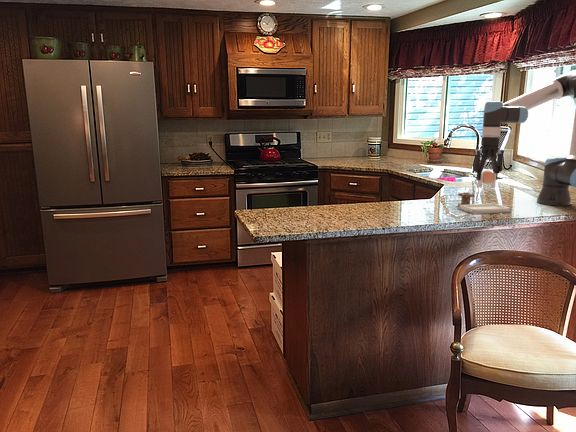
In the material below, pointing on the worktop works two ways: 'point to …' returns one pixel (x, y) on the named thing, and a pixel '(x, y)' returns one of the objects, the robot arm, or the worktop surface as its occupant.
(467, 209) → the tray
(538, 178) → the worktop surface
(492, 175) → the ball
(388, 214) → the worktop surface
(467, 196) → the pedestal
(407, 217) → the worktop surface
